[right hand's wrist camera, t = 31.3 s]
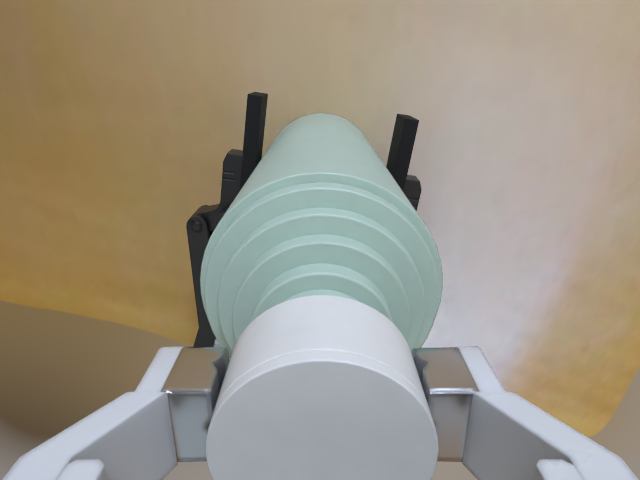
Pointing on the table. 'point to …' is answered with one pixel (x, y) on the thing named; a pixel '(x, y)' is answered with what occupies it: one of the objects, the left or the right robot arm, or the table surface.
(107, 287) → the table surface
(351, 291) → the bottle
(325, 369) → the cap
